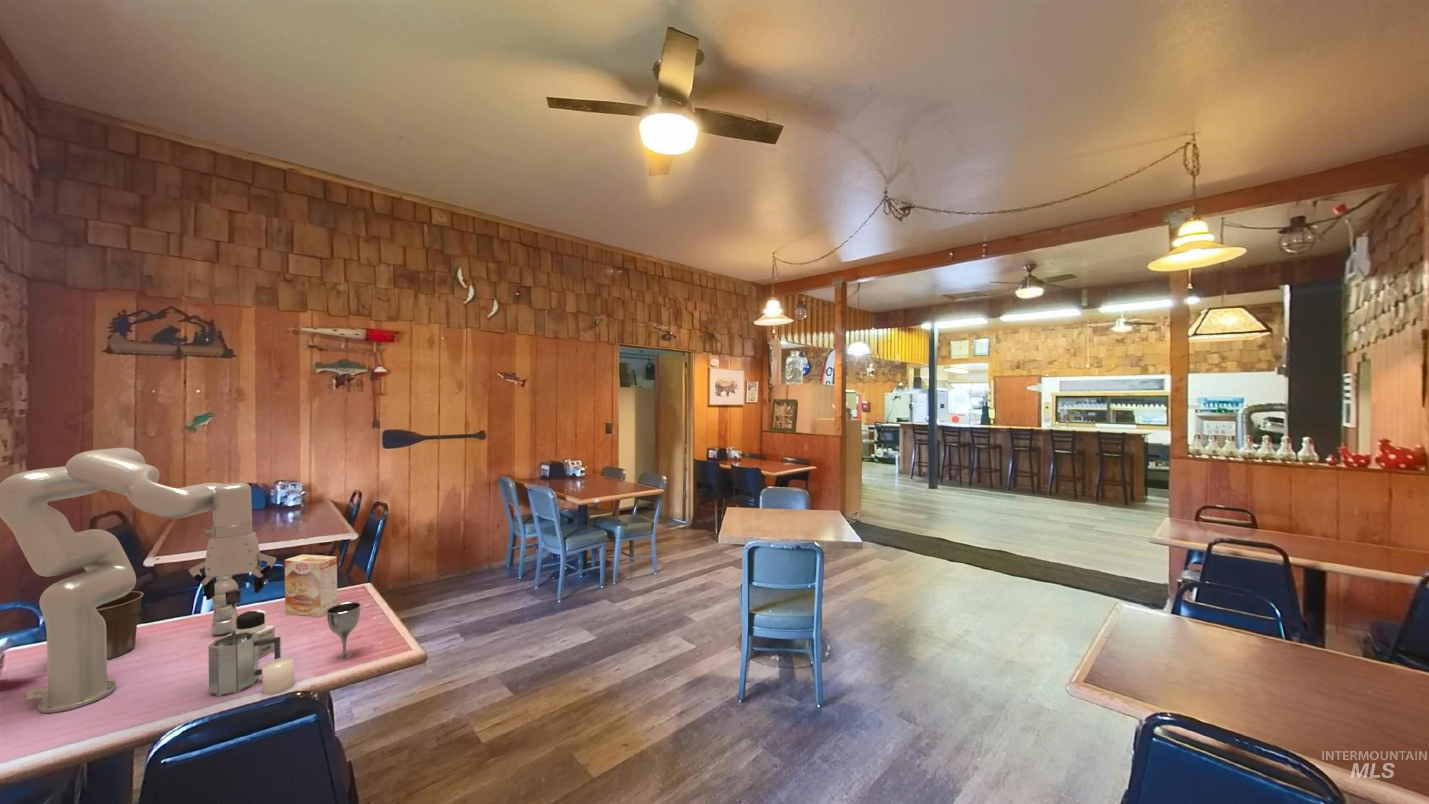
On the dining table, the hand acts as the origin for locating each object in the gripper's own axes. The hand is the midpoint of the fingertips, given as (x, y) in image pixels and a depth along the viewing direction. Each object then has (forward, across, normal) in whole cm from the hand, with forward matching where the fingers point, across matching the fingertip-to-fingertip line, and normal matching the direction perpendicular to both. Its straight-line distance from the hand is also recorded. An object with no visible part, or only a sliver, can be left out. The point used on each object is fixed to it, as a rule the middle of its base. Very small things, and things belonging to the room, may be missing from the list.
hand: (234, 594), depth 135 cm
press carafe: (+25, +2, 0) cm, 25 cm away
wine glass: (+26, +22, +6) cm, 35 cm away
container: (+25, -3, +20) cm, 32 cm away
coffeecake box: (+25, +5, +51) cm, 57 cm away
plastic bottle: (+25, -16, +43) cm, 52 cm away
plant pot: (+24, -43, +41) cm, 64 cm away
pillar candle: (+25, +10, -6) cm, 28 cm away
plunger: (+15, 0, 0) cm, 15 cm away
